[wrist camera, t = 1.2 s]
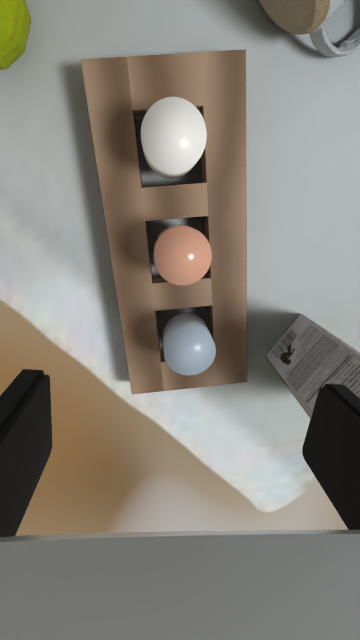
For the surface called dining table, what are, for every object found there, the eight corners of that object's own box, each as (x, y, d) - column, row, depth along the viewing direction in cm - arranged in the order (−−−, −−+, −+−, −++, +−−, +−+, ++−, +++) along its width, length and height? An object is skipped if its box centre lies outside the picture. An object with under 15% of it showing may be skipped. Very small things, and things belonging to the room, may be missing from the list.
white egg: (197, 113, 23) (204, 94, 20) (200, 176, 25) (208, 169, 21) (140, 117, 23) (136, 99, 19) (146, 180, 25) (144, 174, 21)
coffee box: (358, 352, 34) (518, 463, 19) (320, 394, 36) (440, 527, 21) (300, 310, 32) (428, 397, 17) (262, 356, 34) (348, 474, 18)
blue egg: (207, 310, 29) (214, 325, 25) (209, 352, 30) (216, 372, 26) (160, 315, 29) (161, 330, 25) (165, 357, 30) (166, 377, 26)
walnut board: (237, 65, 25) (245, 49, 22) (240, 370, 34) (247, 382, 32) (88, 74, 24) (80, 59, 22) (133, 381, 33) (131, 394, 31)
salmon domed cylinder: (202, 222, 26) (210, 224, 22) (205, 273, 28) (212, 282, 24) (151, 226, 26) (150, 229, 22) (156, 277, 27) (156, 287, 24)
